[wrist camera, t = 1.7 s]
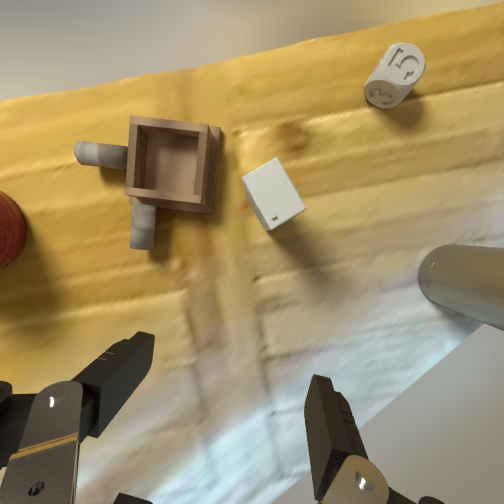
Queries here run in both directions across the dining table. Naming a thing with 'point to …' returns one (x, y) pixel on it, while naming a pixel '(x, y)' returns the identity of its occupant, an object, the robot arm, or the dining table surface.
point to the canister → (10, 229)
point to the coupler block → (161, 169)
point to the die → (394, 75)
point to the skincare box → (272, 194)
